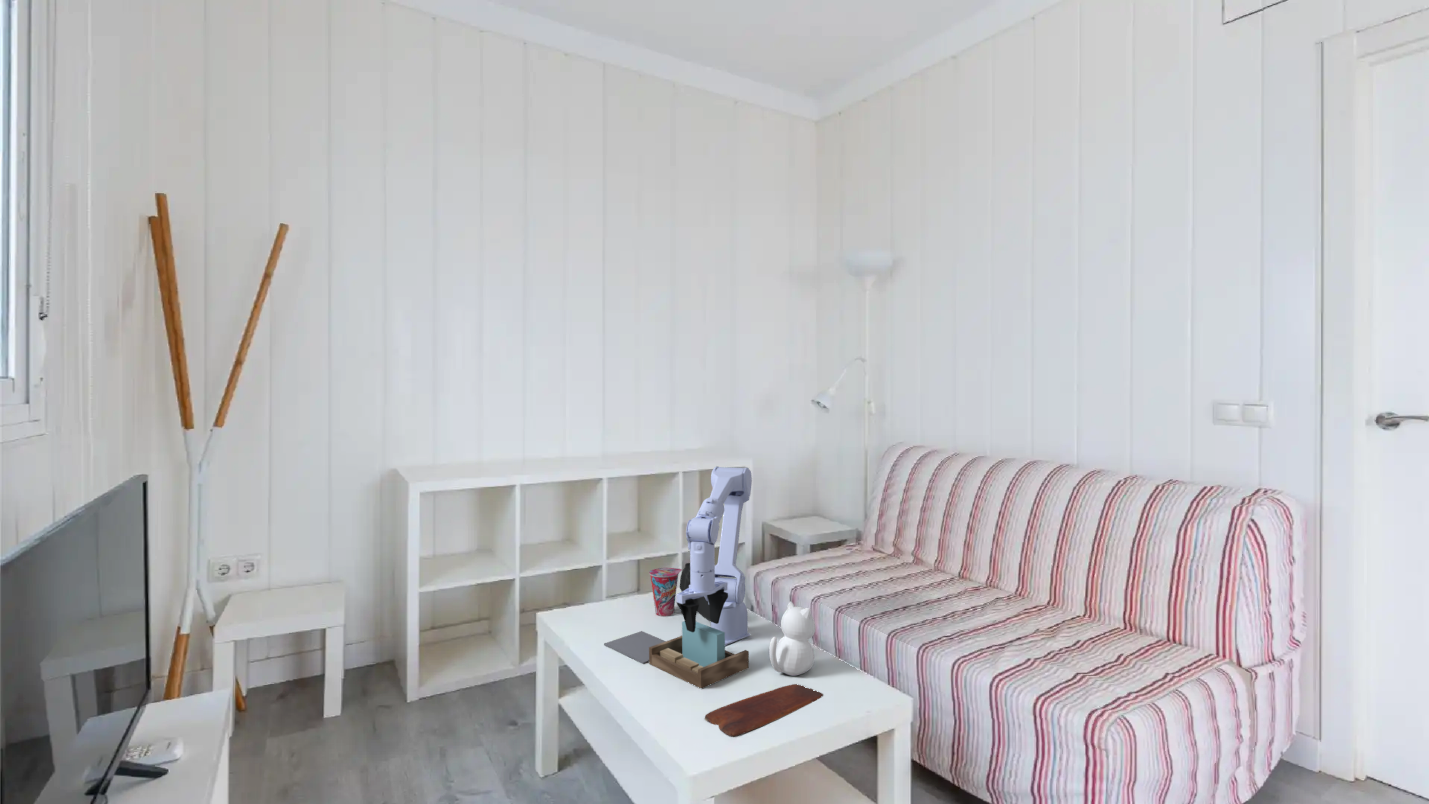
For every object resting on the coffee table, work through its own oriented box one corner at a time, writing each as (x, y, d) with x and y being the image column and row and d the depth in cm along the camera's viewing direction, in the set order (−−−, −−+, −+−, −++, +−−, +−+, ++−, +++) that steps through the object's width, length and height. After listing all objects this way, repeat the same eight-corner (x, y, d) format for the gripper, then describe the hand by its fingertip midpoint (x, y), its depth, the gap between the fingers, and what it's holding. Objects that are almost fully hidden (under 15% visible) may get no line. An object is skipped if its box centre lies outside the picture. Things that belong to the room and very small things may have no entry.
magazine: (731, 598, 185) (693, 541, 211) (720, 599, 183) (683, 542, 210) (724, 652, 190) (688, 590, 216) (713, 654, 189) (678, 591, 215)
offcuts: (668, 660, 167) (667, 648, 167) (711, 680, 156) (711, 667, 156) (659, 663, 165) (659, 651, 165) (703, 683, 154) (703, 670, 154)
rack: (696, 646, 175) (696, 630, 175) (748, 668, 162) (748, 651, 162) (649, 664, 165) (649, 647, 165) (701, 688, 152) (700, 670, 152)
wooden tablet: (733, 742, 131) (733, 734, 131) (700, 721, 139) (700, 713, 139) (830, 700, 148) (830, 692, 148) (796, 683, 156) (796, 676, 156)
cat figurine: (825, 671, 161) (825, 606, 160) (785, 685, 153) (785, 617, 153) (797, 658, 168) (798, 596, 167) (758, 671, 160) (758, 606, 160)
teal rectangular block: (690, 655, 170) (689, 619, 169) (725, 670, 161) (724, 632, 161) (682, 658, 168) (682, 621, 168) (717, 674, 159) (716, 635, 159)
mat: (641, 632, 185) (641, 630, 185) (681, 649, 173) (681, 648, 173) (604, 645, 176) (604, 643, 176) (643, 664, 165) (643, 662, 165)
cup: (667, 620, 193) (667, 577, 193) (643, 615, 198) (643, 573, 197) (687, 610, 201) (686, 569, 201) (663, 605, 206) (663, 565, 205)
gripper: (713, 560, 171) (713, 614, 172) (667, 572, 161) (668, 630, 162) (733, 565, 166) (733, 622, 167) (687, 578, 156) (688, 638, 157)
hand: (702, 626), depth 164 cm, fingers open, 7 cm apart
